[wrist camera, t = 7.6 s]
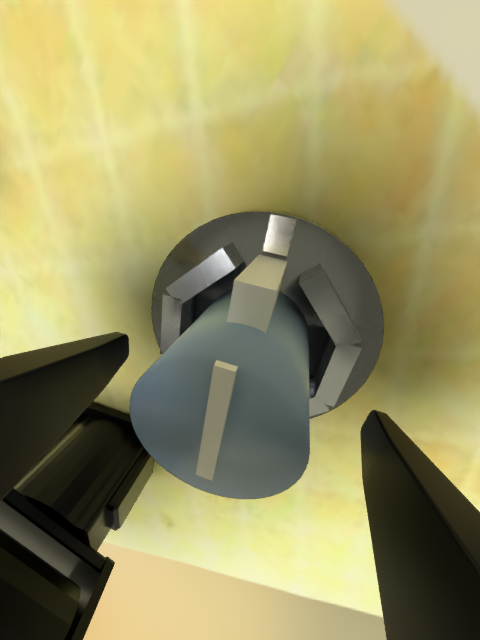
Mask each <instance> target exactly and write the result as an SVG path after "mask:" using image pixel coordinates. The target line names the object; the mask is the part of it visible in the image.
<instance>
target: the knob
mask: <svg viewBox="0 0 480 640" xmlns="http://www.w3.org/2000/svg"><path fill="white" fill-rule="evenodd" d="M287 262H288V261H285V260H281V259H277V258H272V257H268V256H264V255H260V254H259V255H258V256H257V257H256V258H255V259H254V260H253V261H252V262H251V263H250V264H249V265H248V266H247V267H246V268H245V269H244V270H243V272H242V273H241V274H240V275H239V276H238V277H237V278H236V279H235V280H234V284H233V288H232V289H230V290H228V291H226V292H224V293H223V294H222V295H220V296H219V297H218V298H217V299H216V300H215V301H214V302H213V303H212V304H211V305H210V306H209V307H208V308H207V309H206V310H205V311H204V312H203V313H202V314H201V315H200V317H199V318H198V319H197V320H196V321H195V322H194V323H193V324H192V325H191V326H190V327H189V328H188V329H187V330H186V331H185V332H184V333H183V334H182V335H181V336H180V337H179V338H178V339H177V340H176V341H175V342H174V343H173V344H172V345H171V346H170V347H169V348H168V350H167V351H166V352H165V353H164V354H163V355H162V356H161V357H160V358H159V359H158V360H157V361H156V362H155V363H154V364H153V365H152V366H151V367H150V368H149V369H148V370H147V371H146V372H145V373H144V374H143V375H142V376H141V377H140V379H139V380H138V381H137V383H136V384H135V386H134V388H133V391H132V394H131V398H130V408H129V409H130V417H131V421H132V425H133V427H134V430H135V432H136V435H137V436H138V438H139V440H140V442H141V443H142V445H143V446H144V448H145V449H146V450H147V452H148V453H149V454H150V455H151V456H152V457H153V458H154V459H155V460H156V461H157V462H158V463H159V464H160V465H161V466H162V467H163V468H164V469H166V470H167V471H168V472H170V473H171V474H172V475H174V476H175V477H177V478H178V479H180V480H182V481H183V482H185V483H187V484H189V485H191V486H193V487H195V488H198V489H200V490H202V491H205V492H208V493H211V494H215V495H218V496H222V497H228V498H235V499H258V498H265V497H269V496H273V495H276V494H279V493H281V492H283V491H285V490H287V489H288V488H290V487H291V486H292V485H294V484H295V483H296V482H297V481H298V480H299V479H300V478H301V476H302V474H303V473H304V471H305V469H306V467H307V464H308V460H309V454H310V433H309V330H308V325H307V322H306V319H305V317H304V315H303V313H302V311H301V310H300V308H299V307H298V306H297V305H296V303H295V302H294V301H293V300H292V299H290V298H289V297H288V296H287V295H285V294H283V293H282V292H280V288H281V284H282V280H283V276H284V273H285V269H286V265H287Z"/></svg>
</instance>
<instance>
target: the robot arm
mask: <svg viewBox="0 0 480 640" xmlns="http://www.w3.org/2000/svg"><path fill="white" fill-rule="evenodd" d="M128 355H129V338H128V336H127V335H126V334H123V333H120V332H114V333H109V334H105V335H100V336H96V337H91V338H87V339H82V340H78V341H73V342H69V343H64V344H60V345H55V346H51V347H46V348H42V349H37V350H33V351H28V352H24V353H19V354H15V355H10V356H6V357H3V358H0V640H83V638H84V635H85V633H86V631H87V628H88V626H89V624H90V621H91V619H92V616H93V614H94V612H95V609H96V607H97V605H98V602H99V600H100V597H101V595H102V593H103V590H104V588H105V586H106V583H107V581H108V578H109V576H110V574H111V571H112V569H113V567H114V564H115V563H114V561H113V560H111V559H110V558H109V557H104V556H102V555H101V554H100V553H98V552H97V550H98V548H99V547H100V545H101V544H102V542H103V540H104V539H105V537H106V535H107V534H108V532H109V531H110V529H113V530H115V531H116V530H117V529H119V528H120V527H121V526H122V524H123V522H124V521H125V519H126V517H127V515H128V514H129V512H130V510H131V509H132V507H133V505H134V503H135V502H136V500H137V498H138V497H139V495H140V493H141V491H142V490H143V488H144V486H145V484H146V483H147V481H148V480H149V478H150V476H151V474H152V472H153V457H152V456H151V455H150V454H149V453H148V452H147V450H146V449H145V448H144V446H143V445H142V443H141V442H140V440H139V438H138V436H137V435H136V432H135V430H134V427H133V425H132V421H131V417H129V416H127V415H124V414H121V413H118V412H115V411H112V410H110V409H107V408H104V407H101V406H98V405H95V404H93V403H92V402H93V401H94V400H95V398H96V397H97V396H98V395H99V394H100V393H101V392H102V391H103V389H104V388H105V387H106V386H107V384H108V383H109V382H110V381H111V379H112V378H113V377H114V375H115V374H116V373H117V371H118V370H119V369H120V367H121V366H122V365H123V363H124V362H125V361H126V359H127V357H128ZM361 457H362V478H363V486H364V493H365V500H366V506H367V513H368V519H369V526H370V533H371V539H372V546H373V552H374V559H375V565H376V572H377V579H378V585H379V592H380V598H381V605H382V612H383V618H384V624H385V631H386V638H387V640H480V512H479V511H478V510H477V509H476V508H475V507H474V506H473V504H472V503H471V502H470V501H469V500H468V499H467V498H466V497H465V496H464V495H463V494H462V493H461V492H460V491H459V490H458V489H457V488H456V487H455V486H454V484H453V483H452V482H451V481H450V480H449V479H448V478H447V477H446V476H445V475H444V474H443V473H442V472H441V471H440V470H439V469H438V468H437V467H436V466H435V464H434V463H433V462H432V461H431V460H430V459H429V458H428V457H427V456H426V455H425V454H424V453H423V452H422V451H421V450H420V449H419V448H418V447H417V445H416V444H415V443H414V442H413V441H412V440H411V439H410V438H409V437H408V436H407V435H406V434H405V433H404V432H403V431H402V430H401V429H400V428H399V427H398V425H397V424H396V423H395V422H394V421H393V420H392V419H391V418H390V417H389V416H388V415H387V414H385V413H383V412H380V411H376V410H372V411H371V412H370V413H369V415H368V417H367V419H366V420H365V422H364V424H363V425H362V428H361Z"/></svg>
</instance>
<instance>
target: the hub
mask: <svg viewBox="0 0 480 640" xmlns="http://www.w3.org/2000/svg"><path fill="white" fill-rule="evenodd" d="M259 254H260V255H264V256H268V257H272V258H277V259H281V260H285V261H288V262H287V265H286V269H285V273H284V276H283V280H282V284H281V288H280V292H282V293H283V294H285V295H287V296H288V297H289V298H290V299H292V300H293V301H294V302H295V303H296V305H297V306H298V307H299V308H300V310H301V311H302V313H303V315H304V317H305V319H306V322H307V325H308V330H309V419H311V418H314V417H317V416H319V415H322V414H325V413H327V412H329V411H331V410H333V409H335V408H336V407H338V406H339V405H341V404H342V403H344V402H345V401H347V400H348V399H349V398H350V397H351V396H352V395H354V394H355V393H356V392H357V391H358V390H359V388H360V387H361V386H362V385H363V384H364V383H365V381H366V380H367V378H368V377H369V375H370V374H371V372H372V370H373V369H374V366H375V364H376V362H377V359H378V357H379V354H380V350H381V346H382V342H383V330H384V322H383V310H382V306H381V302H380V298H379V294H378V292H377V289H376V287H375V285H374V282H373V280H372V278H371V276H370V275H369V273H368V271H367V270H366V268H365V267H364V265H363V263H362V262H361V261H360V260H359V259H358V258H357V256H356V255H355V254H354V253H353V252H352V251H351V249H350V248H349V247H348V246H347V245H346V244H344V243H343V242H342V241H341V240H340V239H339V238H337V237H336V236H335V235H334V234H332V233H331V232H329V231H328V230H326V229H325V228H323V227H321V226H320V225H318V224H316V223H313V222H311V221H309V220H307V219H304V218H302V217H298V216H295V215H291V214H287V213H281V212H273V211H250V212H243V213H237V214H230V215H227V216H224V217H221V218H217V219H214V220H212V221H210V222H208V223H206V224H204V225H202V226H200V227H198V228H197V229H195V230H194V231H193V232H191V233H190V234H188V235H187V236H186V237H185V238H184V239H182V240H181V241H180V242H179V243H178V244H177V245H176V246H175V247H174V249H173V250H172V251H171V253H170V254H169V255H168V256H167V258H166V260H165V262H164V263H163V265H162V267H161V269H160V271H159V274H158V276H157V279H156V281H155V286H154V290H153V295H152V322H153V327H154V333H155V336H156V339H157V342H158V345H159V347H160V354H164V353H165V352H166V351H167V350H168V348H169V347H170V346H171V345H172V344H173V343H174V342H175V341H176V340H177V339H178V338H179V337H180V336H181V335H182V334H183V333H184V332H185V331H186V330H187V329H188V328H189V327H190V326H191V325H192V324H193V323H194V322H195V321H196V320H197V319H198V318H199V317H200V315H201V314H202V313H203V312H204V311H205V310H206V309H207V308H208V307H209V306H210V305H211V304H212V303H213V302H214V301H215V300H216V299H217V298H218V297H219V296H220V295H222V294H223V293H224V292H226V291H228V290H230V289H232V288H233V284H234V280H235V279H236V278H237V277H238V276H239V275H240V274H241V273H242V272H243V270H244V269H245V268H246V267H247V266H248V265H249V264H250V263H251V262H252V261H253V260H254V259H255V258H256V257H257V256H258V255H259Z"/></svg>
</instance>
